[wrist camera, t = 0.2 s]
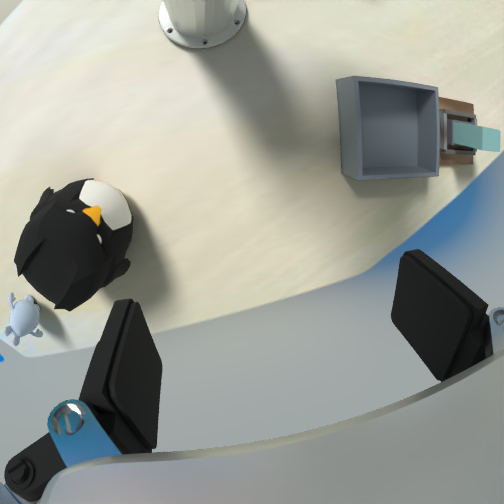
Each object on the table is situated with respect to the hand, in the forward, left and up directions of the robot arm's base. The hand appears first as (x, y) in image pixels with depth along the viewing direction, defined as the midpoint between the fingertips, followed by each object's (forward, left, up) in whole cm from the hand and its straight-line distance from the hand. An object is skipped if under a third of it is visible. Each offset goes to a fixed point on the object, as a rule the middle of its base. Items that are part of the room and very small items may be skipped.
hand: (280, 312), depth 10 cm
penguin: (+6, -23, -37) cm, 44 cm away
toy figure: (+19, -42, -37) cm, 59 cm away
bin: (-4, +27, -37) cm, 46 cm away
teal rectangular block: (-4, +44, -36) cm, 57 cm away
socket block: (-4, +44, -37) cm, 58 cm away
